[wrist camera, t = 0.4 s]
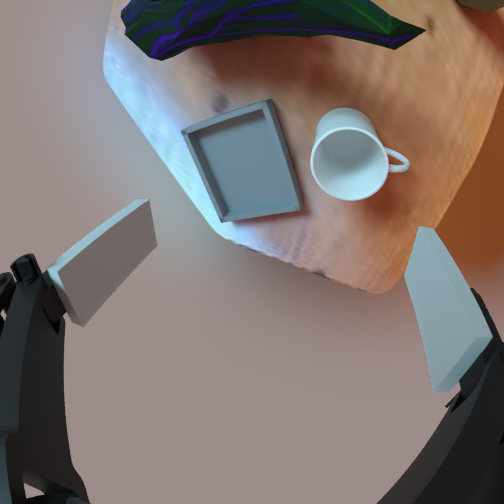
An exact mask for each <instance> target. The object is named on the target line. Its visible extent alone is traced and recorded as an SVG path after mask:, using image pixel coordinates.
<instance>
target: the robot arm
mask: <svg viewBox="0 0 504 504" xmlns="http://www.w3.org/2000/svg"><path fill="white" fill-rule="evenodd" d="M156 246H157V240H156V235H155V230H154V224H153V219H152V213H151V208H150V201H149V199H137V200H135V201H134V202H133V203H131V204H130V205H128V206H127V207H125V208H124V209H122V210H121V211H119V212H118V213H117V214H115V215H114V216H112V217H111V218H110V219H108V220H107V221H105V222H104V223H103V224H101V225H100V226H99V227H97V228H96V229H95V230H93V231H92V232H91V233H89V234H88V235H87V236H85V237H84V238H83V239H81V240H80V241H79V242H78V243H76V244H75V245H74V246H73V247H71V248H70V249H69V250H68V251H67V252H65V253H64V254H63V255H62V256H60V257H59V258H58V259H57V260H56V261H54V262H53V263H52V264H51V265H50V266H49V267H48V268H47V270H46V271H45V272H44V273H43V274H42V273H41V270H40V268H39V265H38V263H37V261H36V258H35V256H34V255H33V254H26V255H23V256H21V257H19V258H18V259H17V260H15V261H14V262H13V263H12V264H11V266H10V267H11V270H12V272H13V274H14V276H15V278H16V280H17V282H15V280H14V278H13V276H12V274H11V273H10V272H7V273H2V274H0V313H1V311H2V310H4V312H5V313H6V315H7V316H6V320H5V321H4V319H3V317H2V316H1V314H0V504H90V503H89V499H88V496H87V492H86V488H85V485H84V483H83V481H82V479H81V477H80V476H79V474H78V473H77V472H76V470H75V469H74V467H73V464H72V461H71V455H70V449H69V442H68V434H67V426H66V416H65V402H64V377H63V376H64V375H63V374H64V368H63V367H64V336H65V319H64V318H63V315H64V314H65V313H66V312H67V314H68V315H69V317H70V319H71V321H72V322H73V323H75V324H77V325H80V326H82V327H84V326H85V325H86V323H87V322H88V321H89V320H90V319H91V317H92V316H93V315H94V314H95V313H96V311H97V310H98V309H99V308H100V307H101V306H102V305H103V304H104V302H105V301H106V300H107V299H108V298H109V297H110V295H112V293H113V292H114V291H115V290H116V289H117V288H118V287H119V286H120V285H121V283H122V282H123V281H124V280H125V279H126V278H127V277H128V276H129V275H130V274H131V273H132V272H133V270H134V269H135V268H136V267H137V266H138V265H139V264H140V263H141V262H142V261H143V260H144V259H145V258H146V257H147V256H148V255H149V254H150V253H151V252H152V251H153V250H154V249H155V248H156ZM404 278H405V281H406V284H407V287H408V290H409V294H410V296H411V300H412V303H413V307H414V310H415V314H416V317H417V321H418V325H419V328H420V332H421V336H422V341H423V345H424V349H425V354H426V358H427V363H428V368H429V372H430V378H431V384H432V390H433V392H445V391H451V390H452V389H453V387H454V386H455V385H456V384H457V383H458V382H459V383H460V387H461V390H460V391H459V392H458V393H457V394H456V395H455V397H454V398H453V399H452V400H451V401H450V402H449V403H448V404H447V405H446V406H445V407H447V408H448V407H449V406H450V407H449V409H448V411H447V412H446V414H445V416H444V417H443V419H442V421H441V422H440V424H439V426H438V427H437V429H436V431H435V432H434V433H433V435H432V436H431V438H430V439H429V441H428V442H427V444H426V445H425V447H424V448H423V449H422V451H421V452H420V454H419V455H418V456H417V458H416V459H415V460H414V462H413V463H412V464H411V465H410V467H409V468H408V469H407V470H406V472H405V473H404V474H403V475H402V476H401V478H400V479H399V480H398V481H397V482H396V483H395V484H394V486H393V487H392V488H391V489H390V490H389V491H388V492H387V493H386V494H385V495H384V496H383V498H382V499H381V500H380V501H379V502H378V503H377V504H504V342H502V340H501V338H500V335H499V333H498V331H497V329H496V326H495V324H494V322H493V320H492V318H491V316H489V312H488V310H487V308H486V306H485V304H484V302H483V300H482V298H481V296H480V295H479V294H478V293H477V292H476V291H475V290H474V289H473V288H469V286H468V284H467V282H466V281H465V279H464V277H463V275H462V274H461V272H460V270H459V269H458V267H457V265H456V263H455V262H454V260H453V258H452V257H451V255H450V254H449V252H448V250H447V249H446V247H445V246H444V244H443V243H442V241H441V240H440V238H439V237H438V235H437V234H436V232H435V231H434V229H433V228H427V227H421V226H419V228H418V232H417V235H416V239H415V242H414V246H413V249H412V252H411V256H410V259H409V262H408V265H407V268H406V271H405V274H404ZM24 483H26V484H28V485H30V486H32V487H34V488H37V489H39V490H41V491H42V492H43V493H44V494H45V495H40V496H35V497H31V498H26V495H25V489H24Z"/></svg>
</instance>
